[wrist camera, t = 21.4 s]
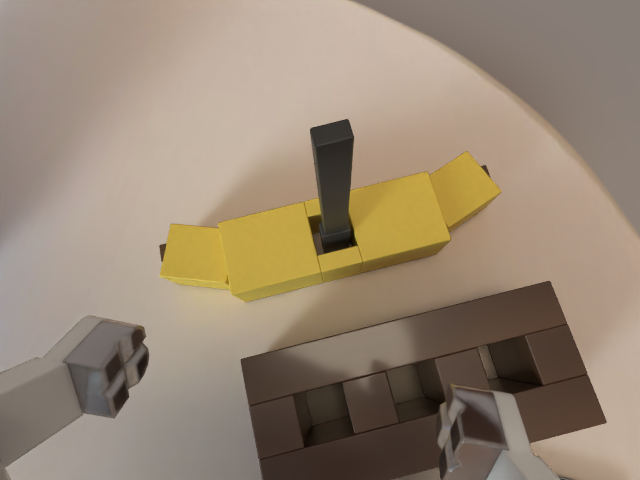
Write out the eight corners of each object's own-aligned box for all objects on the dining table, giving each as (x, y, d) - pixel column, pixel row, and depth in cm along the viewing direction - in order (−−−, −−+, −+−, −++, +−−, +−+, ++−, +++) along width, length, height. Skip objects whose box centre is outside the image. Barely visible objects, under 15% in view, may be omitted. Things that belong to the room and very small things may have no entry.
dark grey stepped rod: (324, 256, 29) (309, 151, 14) (321, 243, 29) (303, 126, 14) (349, 250, 29) (361, 138, 14) (345, 237, 29) (353, 113, 14)
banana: (498, 238, 29) (523, 221, 25) (181, 318, 28) (157, 313, 25) (471, 166, 30) (490, 139, 27) (169, 240, 30) (145, 224, 26)
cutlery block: (547, 406, 26) (608, 423, 20) (284, 475, 26) (268, 512, 20) (506, 294, 28) (550, 280, 22) (260, 357, 28) (240, 359, 22)
